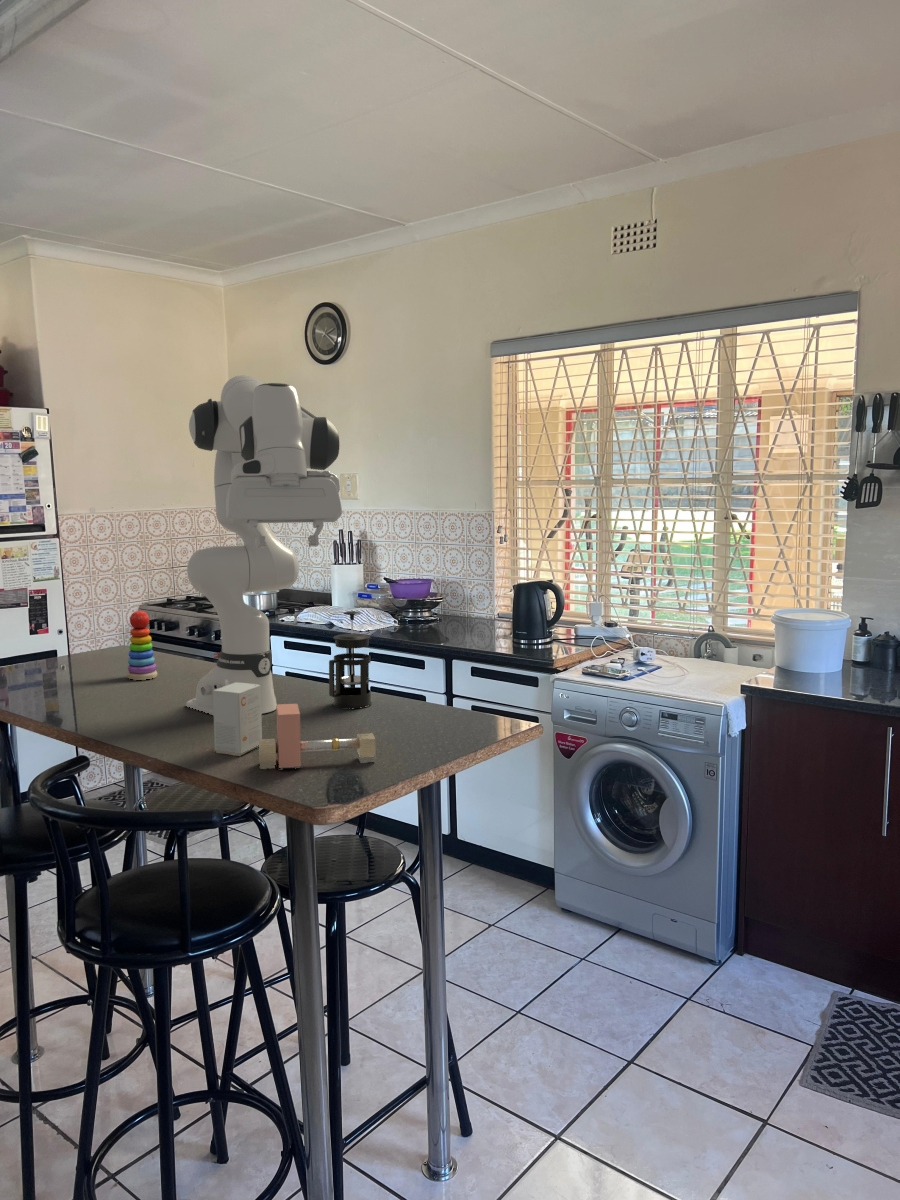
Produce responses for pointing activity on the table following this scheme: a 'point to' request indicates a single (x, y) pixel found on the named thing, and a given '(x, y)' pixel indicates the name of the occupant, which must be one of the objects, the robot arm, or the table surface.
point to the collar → (288, 735)
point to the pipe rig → (320, 747)
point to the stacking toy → (141, 649)
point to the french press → (352, 695)
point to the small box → (237, 717)
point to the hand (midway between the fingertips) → (287, 546)
